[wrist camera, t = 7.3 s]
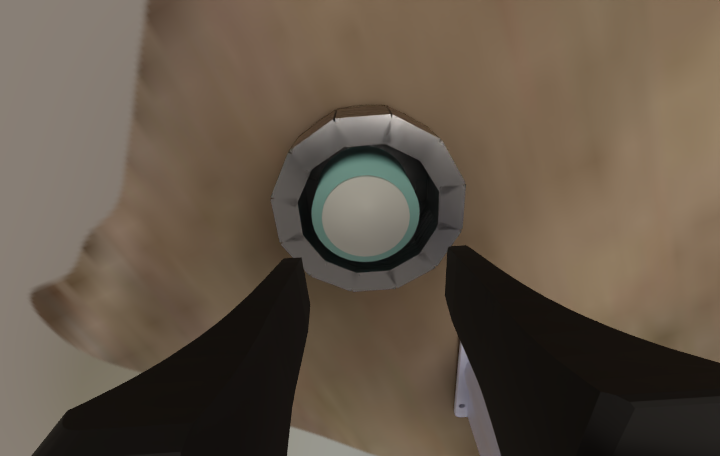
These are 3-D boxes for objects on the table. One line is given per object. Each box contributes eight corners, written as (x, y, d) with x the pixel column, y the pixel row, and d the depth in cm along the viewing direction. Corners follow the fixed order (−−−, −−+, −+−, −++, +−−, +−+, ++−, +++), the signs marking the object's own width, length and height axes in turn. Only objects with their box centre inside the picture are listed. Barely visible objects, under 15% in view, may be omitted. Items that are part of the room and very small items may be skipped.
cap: (410, 226, 19) (422, 259, 16) (325, 236, 20) (320, 270, 16) (406, 140, 17) (419, 159, 14) (310, 151, 17) (300, 173, 14)
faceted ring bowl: (442, 251, 21) (458, 284, 18) (299, 261, 21) (291, 296, 18) (450, 98, 17) (471, 107, 14) (272, 112, 17) (254, 124, 14)
